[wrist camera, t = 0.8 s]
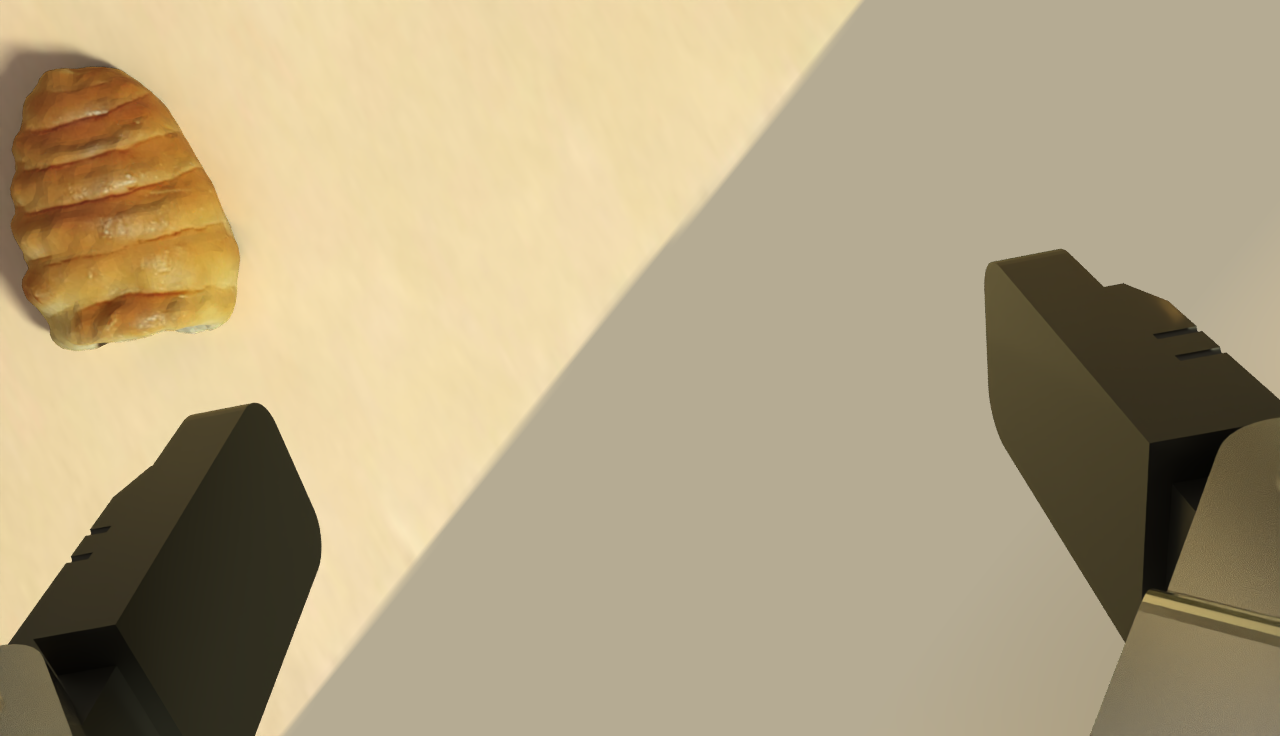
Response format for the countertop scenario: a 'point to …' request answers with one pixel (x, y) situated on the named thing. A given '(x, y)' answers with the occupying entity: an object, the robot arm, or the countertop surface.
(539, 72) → the countertop surface
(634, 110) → the countertop surface
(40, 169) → the pastry
